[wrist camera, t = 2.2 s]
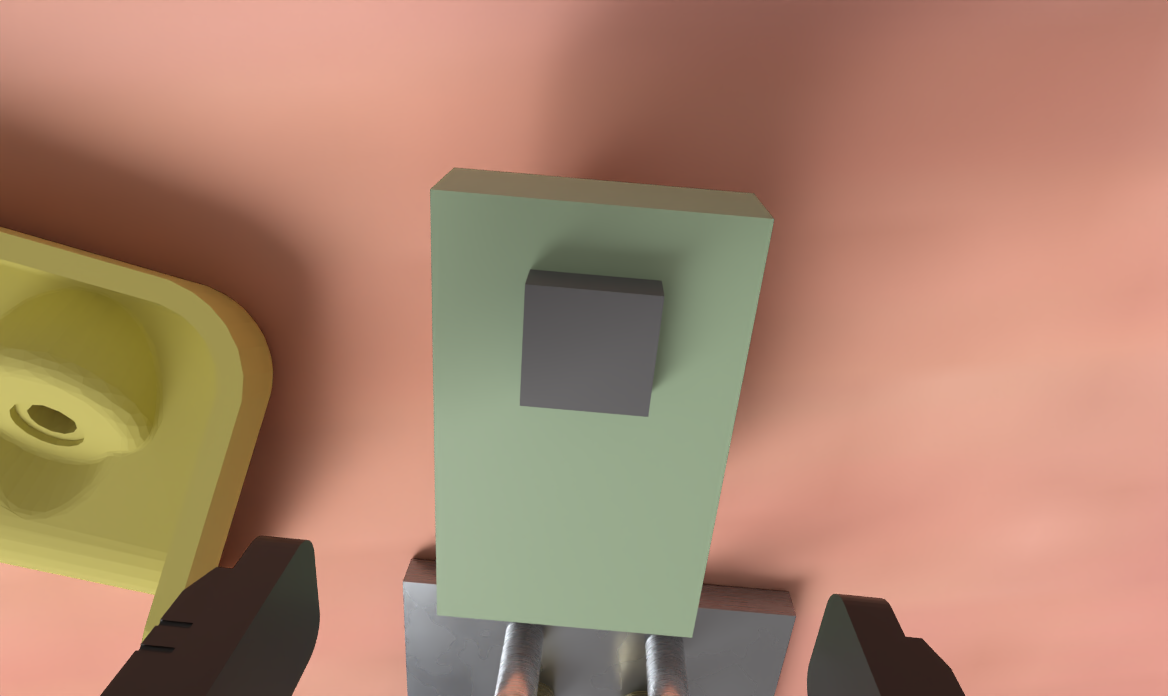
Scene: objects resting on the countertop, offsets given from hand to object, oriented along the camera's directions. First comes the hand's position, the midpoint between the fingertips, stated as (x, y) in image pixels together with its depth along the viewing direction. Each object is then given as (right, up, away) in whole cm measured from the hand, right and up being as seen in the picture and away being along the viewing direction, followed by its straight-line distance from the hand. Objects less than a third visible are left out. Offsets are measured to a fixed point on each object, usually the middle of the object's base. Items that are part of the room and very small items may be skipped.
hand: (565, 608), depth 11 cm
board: (0, +3, +5) cm, 6 cm away
